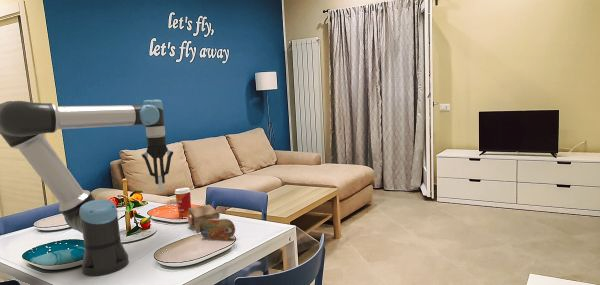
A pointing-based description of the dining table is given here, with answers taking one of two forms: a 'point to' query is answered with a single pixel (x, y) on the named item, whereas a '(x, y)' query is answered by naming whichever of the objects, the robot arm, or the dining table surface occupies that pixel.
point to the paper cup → (183, 201)
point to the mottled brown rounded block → (217, 229)
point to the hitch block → (202, 215)
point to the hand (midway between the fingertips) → (160, 191)
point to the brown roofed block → (190, 219)
